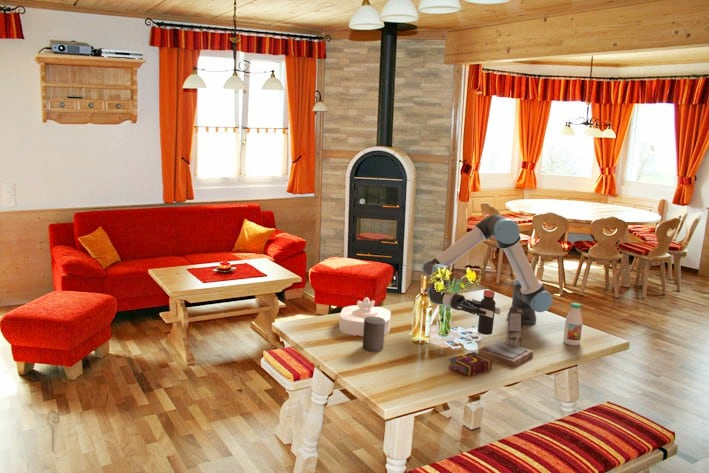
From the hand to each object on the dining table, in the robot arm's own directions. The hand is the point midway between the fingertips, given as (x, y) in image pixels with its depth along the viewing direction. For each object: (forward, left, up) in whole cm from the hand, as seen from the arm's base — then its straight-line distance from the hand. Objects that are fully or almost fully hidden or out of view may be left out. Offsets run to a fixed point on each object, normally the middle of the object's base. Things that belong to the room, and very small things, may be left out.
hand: (496, 313), depth 284 cm
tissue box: (+20, -61, -19) cm, 67 cm away
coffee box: (-19, +1, -19) cm, 27 cm away
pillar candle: (+38, -40, -19) cm, 59 cm away
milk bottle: (-40, +21, -19) cm, 49 cm away
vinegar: (0, -5, -11) cm, 12 cm away
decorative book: (+25, +3, -19) cm, 32 cm away
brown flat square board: (0, +7, -19) cm, 20 cm away
